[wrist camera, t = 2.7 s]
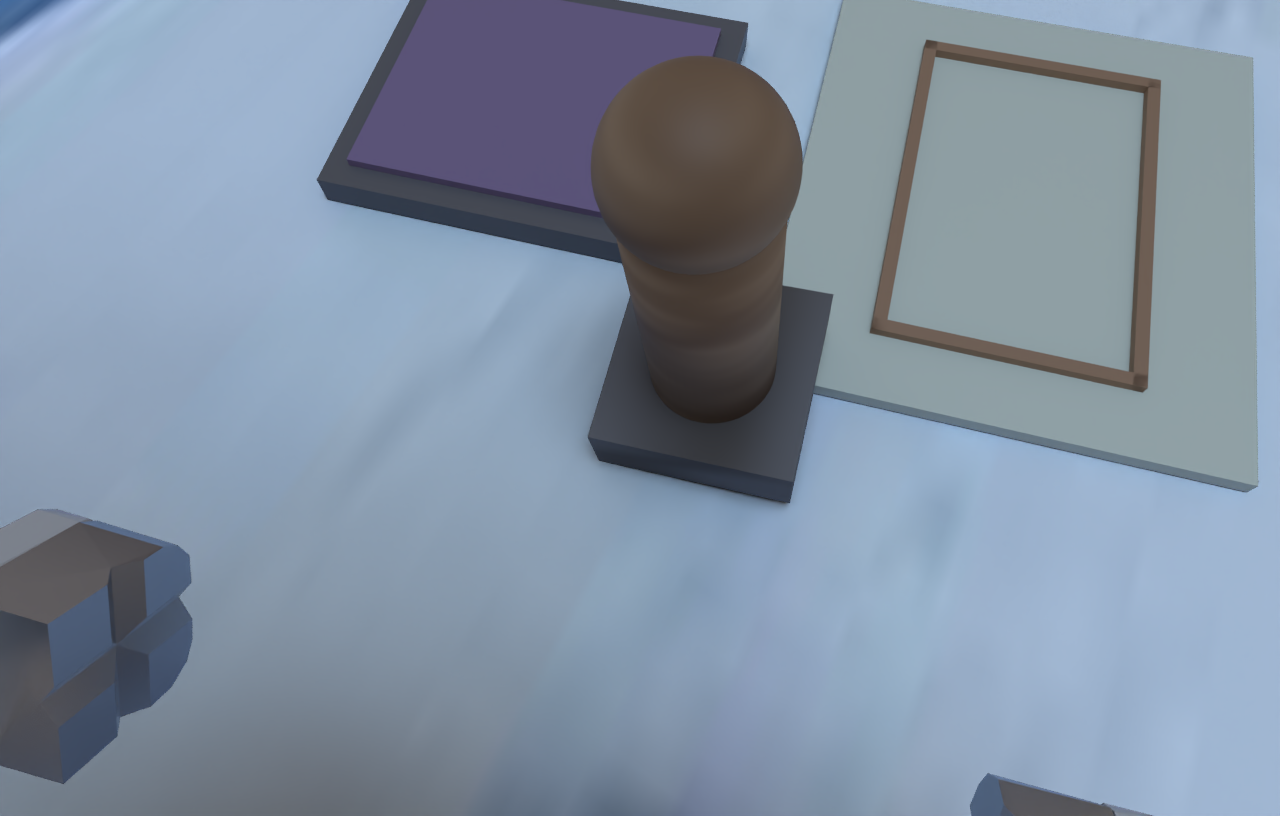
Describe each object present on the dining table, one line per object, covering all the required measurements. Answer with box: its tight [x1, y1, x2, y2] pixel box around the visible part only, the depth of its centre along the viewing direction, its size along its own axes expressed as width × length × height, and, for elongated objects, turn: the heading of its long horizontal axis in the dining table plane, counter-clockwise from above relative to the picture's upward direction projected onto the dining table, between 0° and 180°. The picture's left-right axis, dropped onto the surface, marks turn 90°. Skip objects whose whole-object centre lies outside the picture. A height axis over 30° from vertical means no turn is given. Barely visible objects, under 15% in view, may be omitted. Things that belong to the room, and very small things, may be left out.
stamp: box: [588, 56, 834, 503], centre depth 20 cm, size 6×6×12 cm
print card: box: [783, 0, 1258, 492], centre depth 28 cm, size 14×16×1 cm
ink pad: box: [317, 0, 748, 263], centre depth 30 cm, size 12×10×1 cm
